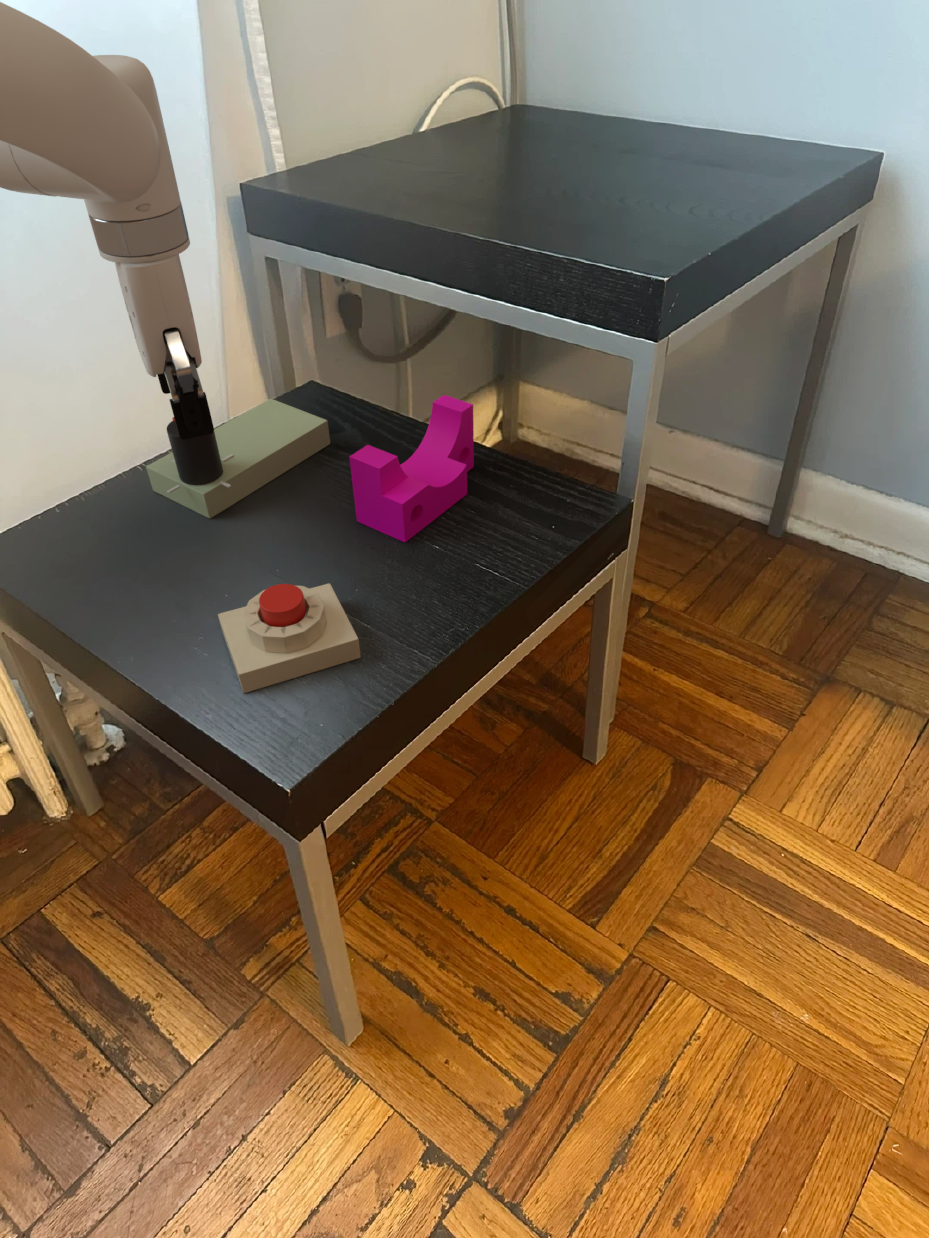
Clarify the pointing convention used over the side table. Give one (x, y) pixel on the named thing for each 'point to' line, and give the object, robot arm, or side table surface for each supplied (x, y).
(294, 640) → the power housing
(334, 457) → the side table surface
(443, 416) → the toy block
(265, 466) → the dial panel
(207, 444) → the timer dial
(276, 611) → the power button
